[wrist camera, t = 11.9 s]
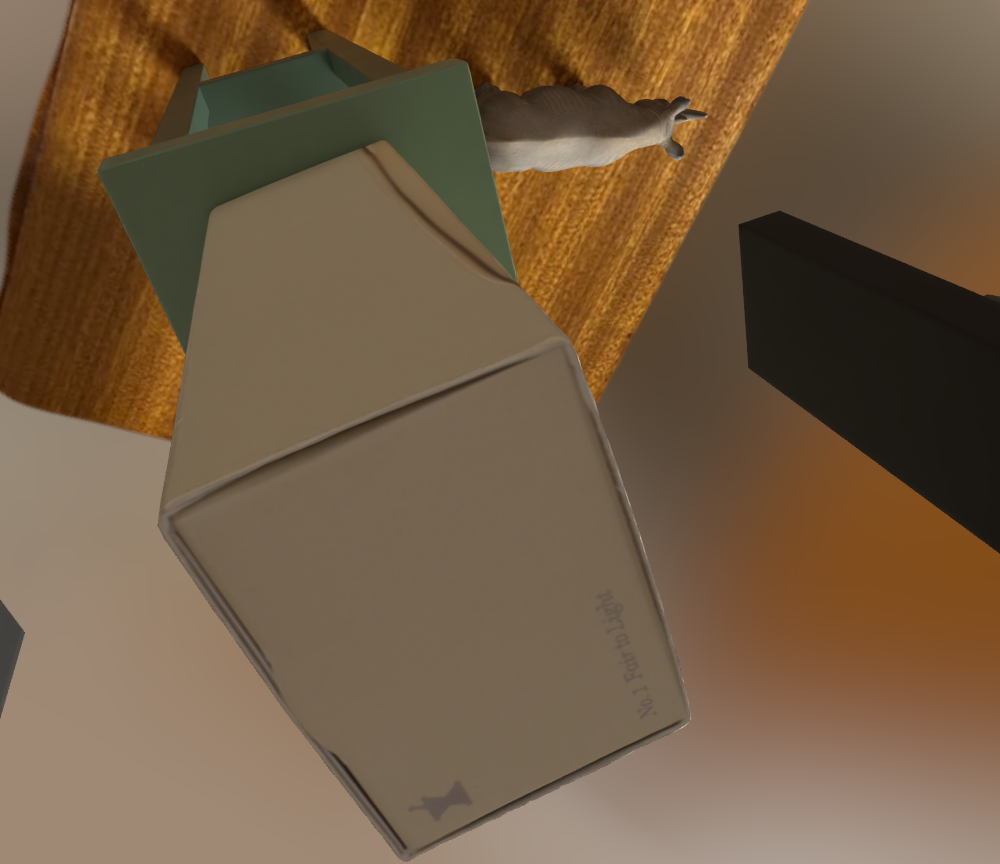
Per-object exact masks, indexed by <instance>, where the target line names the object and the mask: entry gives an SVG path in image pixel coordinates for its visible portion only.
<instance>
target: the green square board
mask: <svg viewBox="0 0 1000 864" xmlns="http://www.w3.org/2000/svg"><path fill="white" fill-rule="evenodd" d="M381 140H384V141H387V142H388V143H389V144H390V145H391V146H392V147H393V148H394V149H395V150H396V151H397V152H398V153H399V154H400V155H401V156H402V157H403V159H404V160H405V161H406V162H407V163H408V164H409V165H410V166H411V167H412V168H413V169H414V170H415V171H416V172H417V173H418V174H419V176H420V177H421V178H422V179H423V180H424V181H425V182H426V183H427V184H428V186H429V187H430V188H431V189H432V190H433V191H434V192H435V193H436V194H437V195H438V196H439V197H440V198H441V199H442V200H443V202H444V203H445V204H446V205H447V206H448V207H449V208H450V209H451V210H452V212H453V213H454V214H455V215H456V216H457V217H458V218H459V219H460V221H461V222H462V223H463V224H464V225H465V226H466V227H467V228H468V229H469V231H470V232H471V233H472V234H473V235H474V236H475V237H476V238H477V239H478V240H479V241H480V242H481V243H482V244H483V245H484V246H485V247H486V248H487V250H488V251H489V252H490V253H491V254H492V255H493V256H494V257H495V258H496V260H497V261H498V262H499V263H500V264H501V265H502V266H503V267H504V269H505V270H506V271H507V272H508V273H509V274H510V275H511V276H512V277H513V279H514V280H515V281H516V282H517V283H518V281H517V276H516V272H515V267H514V263H513V259H512V254H511V250H510V245H509V241H508V237H507V232H506V228H505V223H504V219H503V215H502V210H501V206H500V201H499V197H498V193H497V188H496V184H495V179H494V175H493V171H492V166H491V162H490V157H489V153H488V149H487V144H486V140H485V135H484V131H483V127H482V122H481V118H480V113H479V109H478V105H477V100H476V96H475V92H474V87H473V83H472V78H471V74H470V70H469V65H468V63H467V62H466V61H463V60H460V59H457V58H450V59H446V60H443V61H439V62H436V63H433V64H429V65H426V66H422V67H419V68H415V69H412V70H409V71H405V72H402V73H398V74H395V75H391V76H388V77H385V78H381V79H378V80H374V81H371V82H367V83H364V84H361V85H357V86H354V87H350V88H347V89H343V90H340V91H337V92H333V93H330V94H326V95H323V96H319V97H316V98H313V99H309V100H306V101H302V102H299V103H295V104H292V105H288V106H285V107H282V108H278V109H275V110H271V111H268V112H264V113H261V114H258V115H254V116H251V117H247V118H244V119H240V120H237V121H234V122H230V123H227V124H223V125H220V126H216V127H213V128H210V129H206V130H203V131H199V132H196V133H192V134H189V135H186V136H182V137H179V138H175V139H172V140H168V141H165V142H162V143H158V144H155V145H151V146H148V147H144V148H141V149H138V150H134V151H131V152H127V153H124V154H120V155H117V156H114V157H110V158H107V159H105V160H104V161H103V162H102V164H101V166H100V167H99V169H98V170H97V171H98V174H99V177H100V179H101V181H102V183H103V185H104V187H105V189H106V191H107V193H108V195H109V197H110V199H111V201H112V203H113V206H114V208H115V210H116V212H117V214H118V216H119V218H120V220H121V222H122V224H123V226H124V228H125V230H126V233H127V235H128V237H129V239H130V241H131V243H132V245H133V247H134V249H135V251H136V253H137V255H138V257H139V259H140V262H141V264H142V266H143V268H144V270H145V272H146V274H147V276H148V278H149V280H150V282H151V284H152V286H153V288H154V291H155V293H156V295H157V297H158V299H159V301H160V303H161V305H162V307H163V309H164V311H165V313H166V315H167V317H168V320H169V322H170V324H171V326H172V328H173V330H174V332H175V334H176V336H177V338H178V340H179V342H180V344H181V346H182V349H183V351H184V353H185V355H186V352H187V346H188V340H189V334H190V328H191V322H192V316H193V309H194V304H195V298H196V293H197V287H198V282H199V275H200V269H201V262H202V256H203V250H204V244H205V238H206V233H207V227H208V221H209V216H210V212H211V211H212V210H213V209H214V208H215V207H217V206H219V205H222V204H224V203H226V202H229V201H231V200H233V199H236V198H238V197H240V196H243V195H245V194H247V193H250V192H252V191H254V190H257V189H259V188H262V187H264V186H267V185H269V184H271V183H274V182H276V181H279V180H281V179H284V178H286V177H289V176H291V175H294V174H296V173H299V172H301V171H303V170H306V169H308V168H311V167H313V166H316V165H318V164H321V163H323V162H326V161H328V160H331V159H334V158H336V157H339V156H342V155H344V154H347V153H350V152H352V151H355V150H357V149H360V148H363V147H366V146H368V145H370V144H373V143H375V142H378V141H381Z"/></svg>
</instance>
